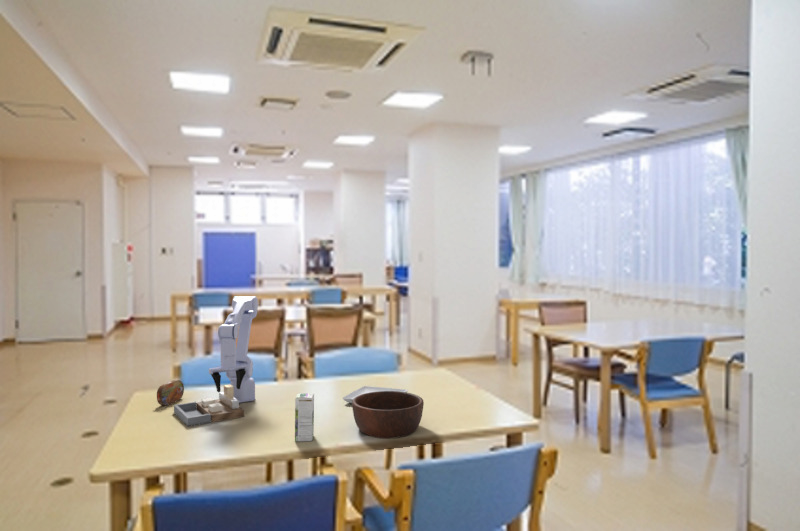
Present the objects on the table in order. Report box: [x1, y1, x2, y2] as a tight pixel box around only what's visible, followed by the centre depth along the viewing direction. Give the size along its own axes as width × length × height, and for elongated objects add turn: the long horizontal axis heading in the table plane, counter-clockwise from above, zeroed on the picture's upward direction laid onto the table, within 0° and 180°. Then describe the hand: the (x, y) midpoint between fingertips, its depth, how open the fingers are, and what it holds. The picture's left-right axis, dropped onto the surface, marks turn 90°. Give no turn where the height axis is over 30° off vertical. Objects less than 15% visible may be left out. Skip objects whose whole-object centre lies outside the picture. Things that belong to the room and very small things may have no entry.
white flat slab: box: [218, 384, 240, 409], centre depth 207 cm, size 2×16×7 cm, turn 36°
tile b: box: [208, 403, 222, 413], centre depth 200 cm, size 4×4×2 cm
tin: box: [156, 379, 185, 406], centre depth 219 cm, size 15×3×8 cm, turn 168°
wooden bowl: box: [351, 391, 425, 439], centre depth 187 cm, size 25×25×10 cm
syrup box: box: [294, 392, 315, 442], centre depth 177 cm, size 6×6×14 cm
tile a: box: [200, 397, 216, 407], centre depth 207 cm, size 4×4×2 cm
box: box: [173, 401, 212, 427], centre depth 199 cm, size 8×20×3 cm, turn 36°
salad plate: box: [342, 385, 409, 404], centre depth 222 cm, size 21×21×3 cm
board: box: [196, 398, 245, 423], centre depth 205 cm, size 12×20×2 cm, turn 36°
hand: (228, 390), depth 207 cm, fingers open, 7 cm apart
